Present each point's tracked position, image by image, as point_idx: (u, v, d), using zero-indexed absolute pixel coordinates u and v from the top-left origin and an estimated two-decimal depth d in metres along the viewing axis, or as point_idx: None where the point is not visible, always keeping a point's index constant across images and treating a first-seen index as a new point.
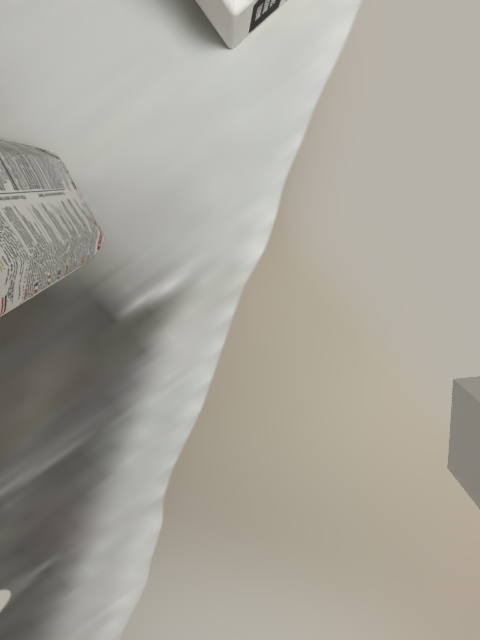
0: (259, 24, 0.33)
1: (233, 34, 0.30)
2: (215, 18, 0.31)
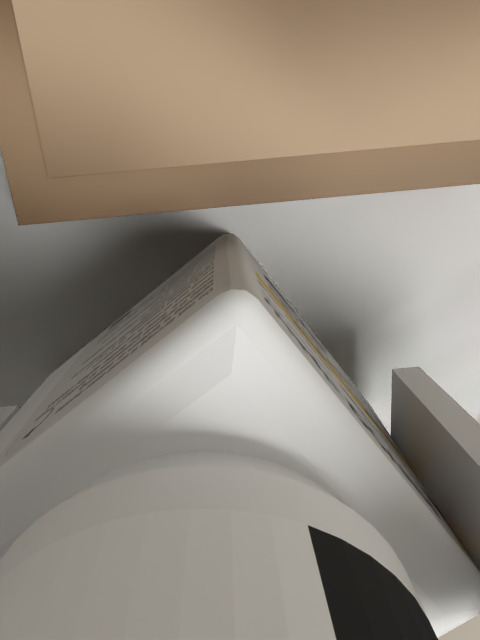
0: None
1: None
2: None
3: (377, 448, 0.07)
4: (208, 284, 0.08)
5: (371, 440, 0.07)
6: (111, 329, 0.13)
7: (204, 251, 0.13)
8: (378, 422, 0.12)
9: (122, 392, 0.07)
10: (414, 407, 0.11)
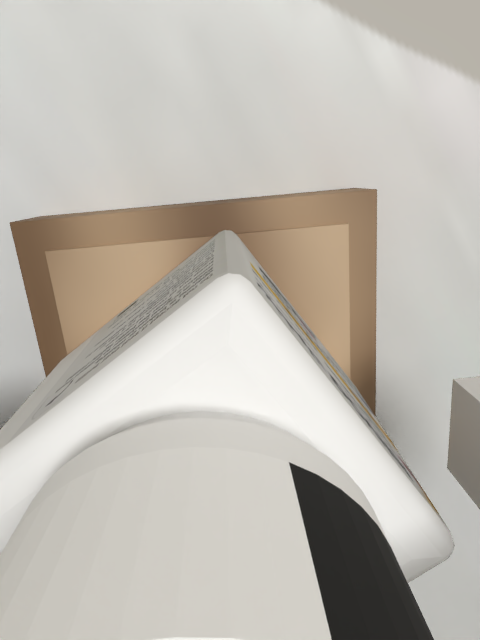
0: None
1: None
2: None
3: (353, 412, 0.09)
4: (208, 271, 0.09)
5: (348, 405, 0.08)
6: (119, 317, 0.14)
7: (205, 246, 0.14)
8: (363, 402, 0.13)
9: (135, 360, 0.08)
10: None
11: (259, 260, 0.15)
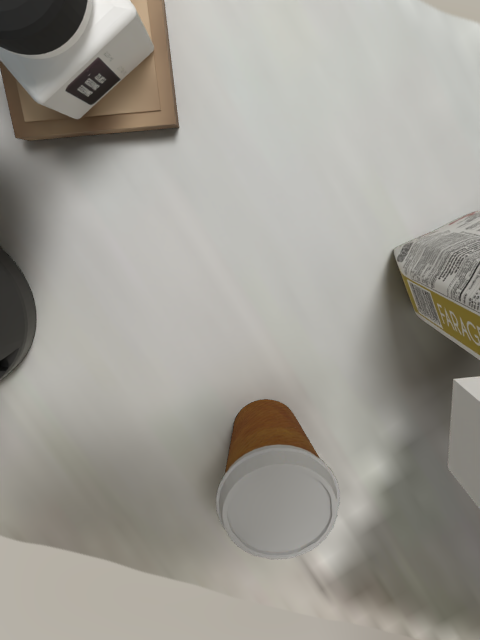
0: (102, 96, 0.32)
1: (62, 112, 0.29)
2: None
3: None
4: None
5: None
6: None
7: None
8: None
9: None
10: None
11: None
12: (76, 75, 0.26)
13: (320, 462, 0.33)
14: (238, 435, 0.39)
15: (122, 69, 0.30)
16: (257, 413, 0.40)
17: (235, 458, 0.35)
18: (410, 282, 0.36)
